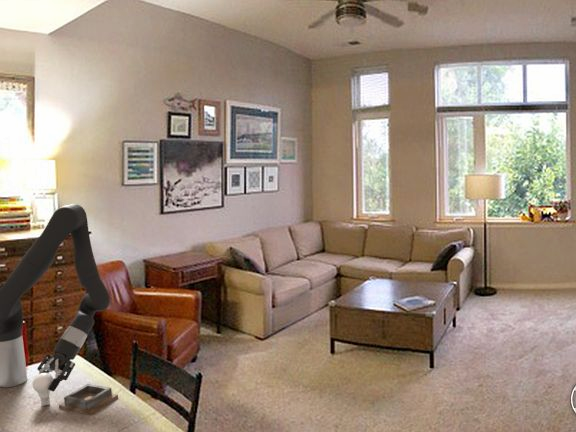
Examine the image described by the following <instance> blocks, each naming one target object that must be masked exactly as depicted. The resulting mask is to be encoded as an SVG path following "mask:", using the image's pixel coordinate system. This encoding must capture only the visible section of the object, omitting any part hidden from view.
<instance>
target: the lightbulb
mask: <svg viewBox="0 0 576 432" xmlns="http://www.w3.org/2000/svg"><path fill="white" fill-rule="evenodd" d="M53 379H54V377H53V376H52V374H51V373H50V372H49V373H40V374H39V373H38V374H36V376H35V377H34V378H33V380H32V388H33V390H34V391H35V392H36V393H37V394H38V397H39V399H40V404H41V406H48V405H50V404H51V400H50V399H51V398H50V396H51V395H50V394H51V391H50V390H48V387H49V386H50V384H51V383H52V381H53Z"/></svg>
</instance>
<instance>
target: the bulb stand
mask: <svg viewBox="0 0 576 432" xmlns="http://www.w3.org/2000/svg"><path fill="white" fill-rule="evenodd" d="M118 398H119V395H118V394H116V393H113V391H112V388H111V387H107V386H103V385H96V384H93V383H92V384H91V383H87V384H85V385H83V386H81V387H80V388H78V389H77V390H75V391H73V392H71V393H69V394H68V395H66V396H64V397H63V402H61V403H60V404H58V409H62V410H67V411H73V412H77V413H80V414H81V413H82V414H86V415H90V416H92V415H93V414H95V413H96V412H98V411H99V410H101V409H103V408H105V407H106V406H107V405H108V404H110V403H112V402H115V400H116V399H118Z"/></svg>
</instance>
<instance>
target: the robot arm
mask: <svg viewBox="0 0 576 432" xmlns="http://www.w3.org/2000/svg"><path fill="white" fill-rule="evenodd" d="M51 215H52V216H51V218H49V221H48V222H47V224H46V226H45V228H44V230H43V231H42V232H41V234H40V236H38V238H37V239H36V240H35V241H34V243H32V245H31V246H30V248H29V249H28V250H27V251H26V252H25V253H24V255H23V256H22V258H21V259H20V261H19V262H18V264H17V265H16V267H15V268H14V269H13V271H11V273H10V275H9V276H8V278H7V280H6V281H5V283H4V284H3V285H2V286H1V288H0V388H12V387H17V386H20V385H22V384H24V383H26V381H27V380H28V374H27V365H26V356H25V355H26V354H25V348H24V347H25V346H24V340H23V327H24V316H23V315H24V314H23V305H22V301H21V298H22V296H24V294H25V293H27V292H28V291H29V290H30V289H31V288H32V287H34V286H35V285H36V284H37V283H38V282H39V281H41V279H42V278H43V277H44V275H45V274H46V273H47V271H48V270H49V269H50V267H51V265H53V262H54V261H55V258H56V255H57V252H58V250H59V247H60V246H61V245H62V243H63V242H64V241H65V240H66V239H67V237H68V236H69V235H70V236H71V237H70V238H71V240H72V245H73V254H74V255H73V260H74V267H75V268H74V269H75V272H76V275H77V279H78V281H79V284H80V286H81V287H82V288H84V289H85V290H86V291H87V292H86V294H85V295H84V296H83V297H82V298H81V301H80V303H79V306H78V308H77V310H76V315H74V318H73V319H72V321H71V322H70V324H69V326H67V328H66V330H65V331H64V332H63V333H62V335H61V337H60V338H59V340H58V342H56V343H57V344H56V345H55V346H54V348H53V352H54V353H53V355H52V354H50V353H47V354H46V355H45V357H44V358H43V359H42V361H41V362H40V364H39V365H38V367H37V370H38V374H40V373H49V374H50V373H53V371H54V373H55V375H54V377H53V381H52V383H51V384H50V386H49V387H48V390H50V392H53V393H54V392H55V390H56V389H57V388H58V386H59V385H60V383H61V382H62V381H67V380H68V378H69V377H70V375H71V373H72V371H73V370H74V367H75V366H76V363H75V362H73V361H71V360H75V358H76V356H77V355H78V354H79V352H80V350H81V348H82V347H83V346H84V343H85V342H86V339H87V337H88V335H89V334H90V332H91V330H92V328H93V327H94V324H95V319H94V316H95V314H96V312H103V311H106V310H107V309H108V308H109V306H110V302H111V296H110V293H109V291H108V289H107V287H106V285H105V284H104V282H103V279H102V280H101V276H100V272H99V270H98V266H97V263H96V260H95V256H94V252H93V248H92V247H93V246H92V243H91V239H90V231H89V221H88V215H87V212H86V211H85V209H84V208H83V206H81V205H80V204H76V203H71V204H65V205H63V206H61V207H59V208H57V209H55V211H54V212H53V214H51Z"/></svg>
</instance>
